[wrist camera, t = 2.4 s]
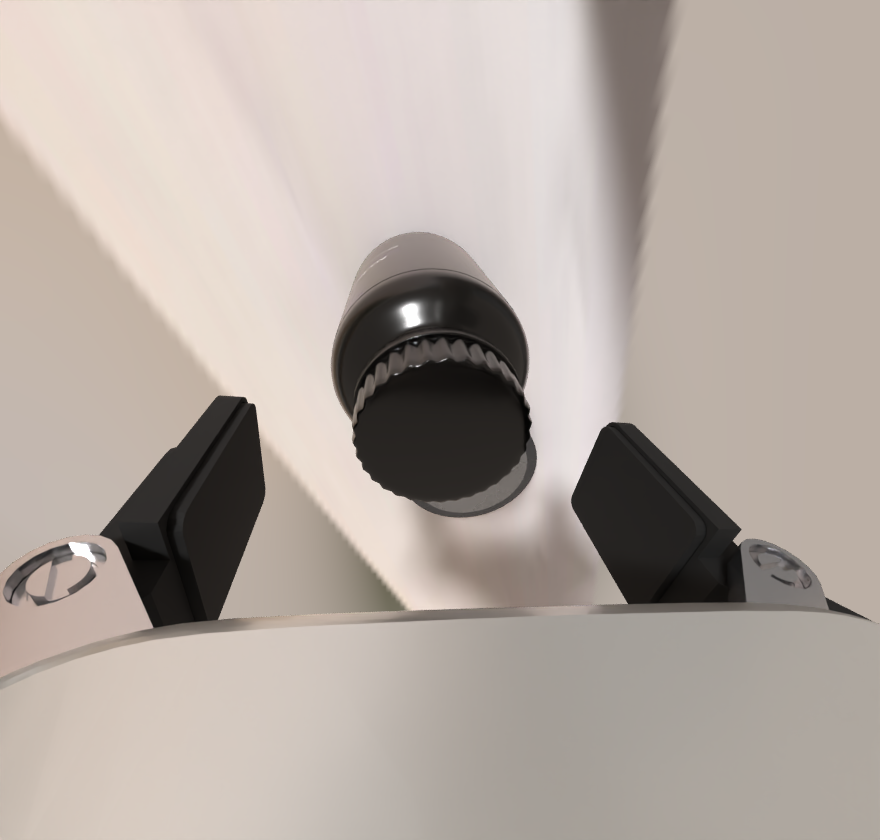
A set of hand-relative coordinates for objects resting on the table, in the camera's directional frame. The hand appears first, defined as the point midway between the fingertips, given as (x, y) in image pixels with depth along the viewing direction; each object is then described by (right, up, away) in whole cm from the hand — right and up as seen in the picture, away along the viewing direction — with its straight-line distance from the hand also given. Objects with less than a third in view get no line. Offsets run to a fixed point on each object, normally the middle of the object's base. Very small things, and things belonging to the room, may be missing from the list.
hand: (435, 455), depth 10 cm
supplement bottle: (-1, +7, +10) cm, 12 cm away
